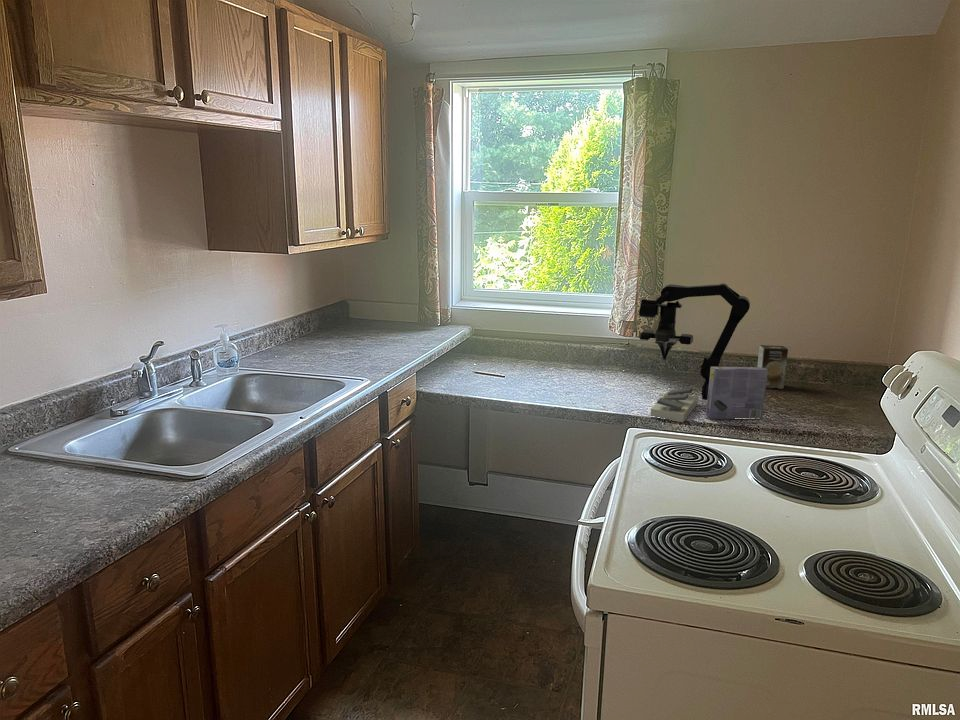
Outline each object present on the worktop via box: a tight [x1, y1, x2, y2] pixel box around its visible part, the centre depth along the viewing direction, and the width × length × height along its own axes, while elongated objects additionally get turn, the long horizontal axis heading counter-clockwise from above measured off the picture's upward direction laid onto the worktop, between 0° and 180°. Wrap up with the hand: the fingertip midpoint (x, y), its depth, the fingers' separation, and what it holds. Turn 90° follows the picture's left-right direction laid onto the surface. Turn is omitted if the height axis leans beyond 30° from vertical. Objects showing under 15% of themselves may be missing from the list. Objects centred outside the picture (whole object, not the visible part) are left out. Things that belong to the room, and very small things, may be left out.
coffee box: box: [756, 344, 789, 390], centre depth 269 cm, size 9×6×16 cm
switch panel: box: [649, 391, 698, 423], centre depth 240 cm, size 11×23×4 cm, turn 152°
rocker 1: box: [667, 387, 693, 395], centre depth 247 cm, size 8×4×1 cm, turn 62°
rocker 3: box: [656, 397, 684, 410], centre depth 233 cm, size 8×4×1 cm, turn 62°
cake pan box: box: [705, 366, 768, 420], centre depth 231 cm, size 19×5×18 cm, turn 92°
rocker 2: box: [662, 393, 689, 401], centre depth 240 cm, size 8×4×1 cm, turn 62°
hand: (664, 359), depth 259 cm, fingers closed
